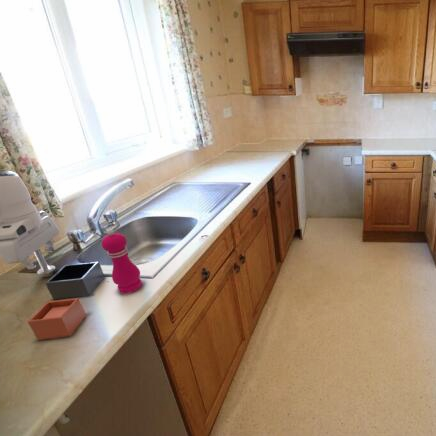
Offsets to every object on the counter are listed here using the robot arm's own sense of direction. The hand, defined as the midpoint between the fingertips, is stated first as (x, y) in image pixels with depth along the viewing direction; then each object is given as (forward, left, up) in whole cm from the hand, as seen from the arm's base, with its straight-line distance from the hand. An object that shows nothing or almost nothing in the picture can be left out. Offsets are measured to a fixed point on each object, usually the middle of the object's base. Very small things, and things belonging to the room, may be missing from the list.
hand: (42, 259), depth 105 cm
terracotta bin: (+20, -28, -6) cm, 35 cm away
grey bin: (+15, -10, -6) cm, 19 cm away
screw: (0, 0, -6) cm, 6 cm away
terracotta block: (+20, -28, -6) cm, 35 cm away
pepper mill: (+31, -13, -6) cm, 34 cm away
